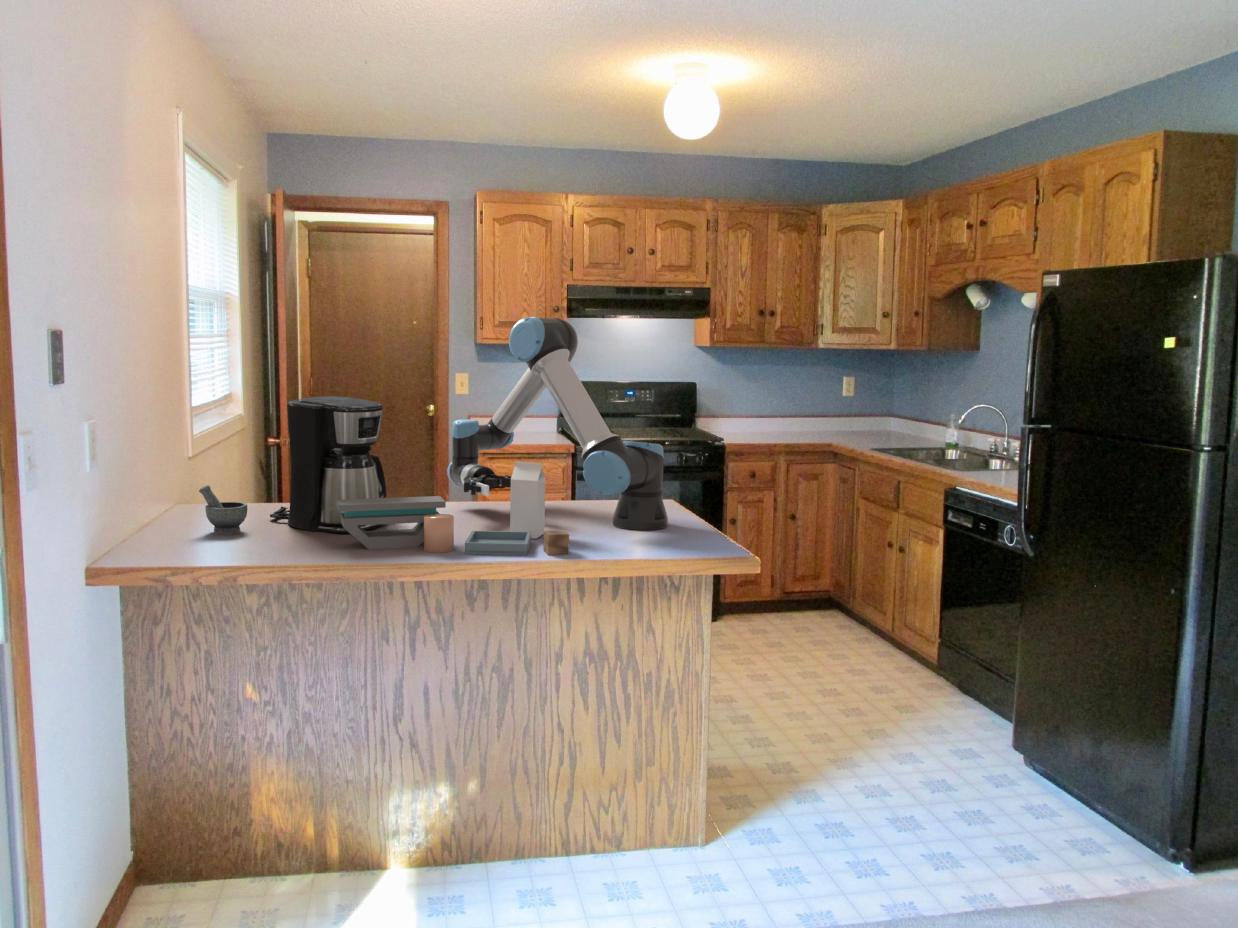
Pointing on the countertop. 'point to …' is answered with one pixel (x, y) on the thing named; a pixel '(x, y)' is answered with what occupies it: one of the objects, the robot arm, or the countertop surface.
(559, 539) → the walnut block
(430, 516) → the peach round cylinder
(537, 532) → the milk carton
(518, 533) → the tray
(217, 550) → the countertop surface
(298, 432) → the coffee maker
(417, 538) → the sharpening stone
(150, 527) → the countertop surface
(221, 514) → the mortar and pestle
